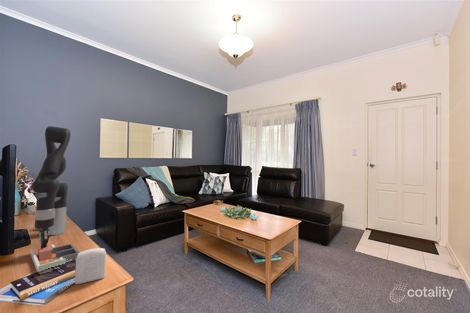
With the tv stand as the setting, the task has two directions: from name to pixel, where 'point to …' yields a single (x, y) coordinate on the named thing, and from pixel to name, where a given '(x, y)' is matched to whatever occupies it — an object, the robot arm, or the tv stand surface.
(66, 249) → the box
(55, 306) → the tv stand surface
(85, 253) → the photo printer
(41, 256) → the red block
